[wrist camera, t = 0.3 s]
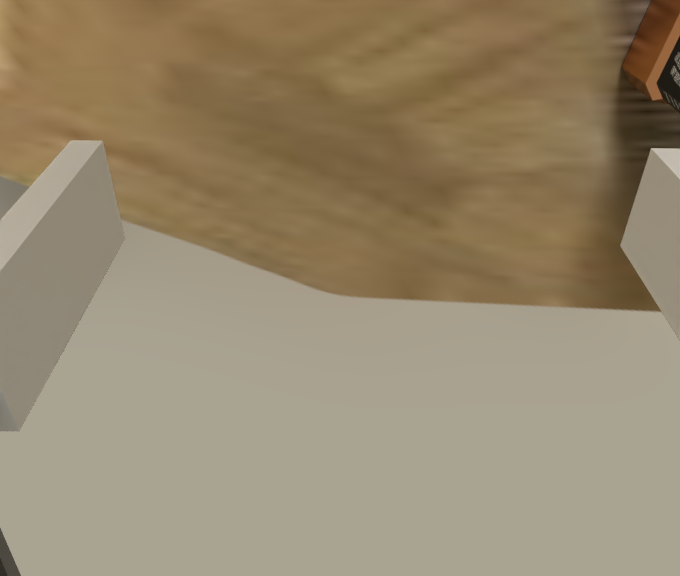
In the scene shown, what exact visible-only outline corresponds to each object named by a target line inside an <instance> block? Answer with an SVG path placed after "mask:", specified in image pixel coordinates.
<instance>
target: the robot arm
mask: <svg viewBox="0 0 680 576" xmlns="http://www.w3.org/2000/svg"><path fill="white" fill-rule="evenodd" d="M124 239H125V237H124V232H123V228H122V223H121V219H120V214H119V210H118V205H117V201H116V197H115V192H114V188H113V183H112V179H111V174H110V170H109V166H108V161H107V157H106V152H105V148H104V144H103V141H89V140H71V141H70V142H69V143H68V144H67V145H66V147H65V148H64V149H63V150H62V151H61V152H60V153H59V154H58V156H57V157H56V158H55V159H54V160H53V161H52V162H51V163H50V165H49V166H48V167H47V168H46V169H45V170H44V171H43V173H42V174H41V175H40V176H39V177H38V178H37V179H36V180H35V182H34V183H33V184H32V185H31V186H30V187H29V188H28V189H27V191H26V192H25V193H24V194H23V195H22V196H21V197H20V198H19V200H18V201H17V202H16V203H15V204H14V205H13V206H12V208H11V209H10V210H9V211H8V212H7V213H6V214H5V215H4V217H3V218H2V219H1V220H0V431H20V429H21V427H22V425H23V424H24V422H25V420H26V418H27V416H28V414H29V413H30V411H31V409H32V407H33V405H34V403H35V402H36V400H37V398H38V396H39V394H40V393H41V391H42V389H43V387H44V385H45V383H46V382H47V380H48V378H49V376H50V374H51V372H52V371H53V369H54V367H55V365H56V363H57V362H58V360H59V358H60V356H61V354H62V352H63V351H64V349H65V347H66V345H67V343H68V341H69V339H70V338H71V336H72V334H73V332H74V331H75V329H76V327H77V325H78V323H79V321H80V320H81V318H82V316H83V314H84V312H85V310H86V309H87V307H88V305H89V303H90V301H91V300H92V298H93V296H94V294H95V292H96V290H97V288H98V287H99V285H100V283H101V281H102V279H103V278H104V276H105V274H106V272H107V270H108V269H109V267H110V265H111V263H112V261H113V259H114V257H115V256H116V254H117V252H118V250H119V248H120V247H121V245H122V243H123V241H124ZM620 247H621V248H622V250H623V251H624V253H625V254H626V256H627V258H628V259H629V261H630V262H631V264H632V266H633V267H634V269H635V270H636V272H637V273H638V275H639V277H640V278H641V280H642V281H643V283H644V285H645V286H646V288H647V289H648V291H649V292H650V294H651V296H652V297H653V299H654V300H655V302H656V304H657V305H658V307H659V308H660V310H661V311H662V313H663V315H664V316H665V318H666V319H667V321H668V322H669V324H670V325H671V327H672V329H673V330H674V332H675V334H676V335H677V337H678V338H679V340H680V149H674V148H651V150H650V153H649V156H648V160H647V163H646V166H645V169H644V172H643V175H642V178H641V182H640V185H639V188H638V191H637V194H636V197H635V201H634V204H633V207H632V210H631V213H630V216H629V219H628V223H627V226H626V229H625V232H624V235H623V238H622V242H621V245H620ZM0 576H21V575H20V573H19V571H18V568H17V566H16V564H15V561H14V559H13V557H12V554H11V552H10V550H9V547H8V545H7V543H6V540H5V538H4V536H3V533H2V531H1V529H0Z"/></svg>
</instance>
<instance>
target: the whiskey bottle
mask: <svg viewBox="0 0 680 576" xmlns="http://www.w3.org/2000/svg"><path fill="white" fill-rule="evenodd" d="M622 68H623V70H624V73H625V75H626V77H627V80H628V82H629V83H630V84H631V85H633V86H634V87H635V88H637V89H638V90H639V91H641V92H642V93H643V94H645V95H646V96H647V97H649V98H650V99H651V100H653V101H657V102H662V103H667V104H670V105H671V106H672V107H674V108H675V109H676V110H677V111H679V112H680V0H652V1H651V3H650V5H649V8H648V10H647V12H646V14H645V16H644V19H643V21H642V23H641V25H640V27H639V30H638V32H637V34H636V36H635V38H634V41H633V43H632V45H631V47H630V49H629V52H628V54H627V56H626V58H625V60H624V63H623V65H622Z"/></svg>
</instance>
